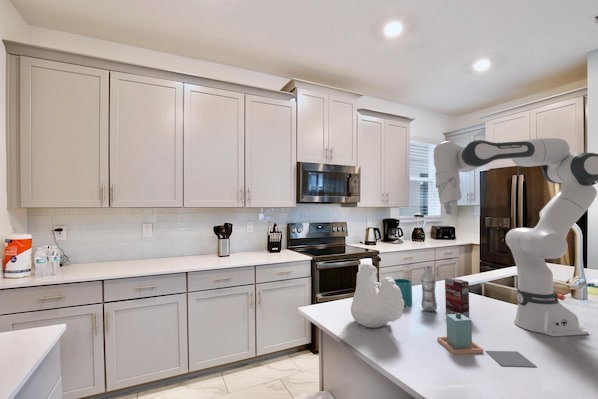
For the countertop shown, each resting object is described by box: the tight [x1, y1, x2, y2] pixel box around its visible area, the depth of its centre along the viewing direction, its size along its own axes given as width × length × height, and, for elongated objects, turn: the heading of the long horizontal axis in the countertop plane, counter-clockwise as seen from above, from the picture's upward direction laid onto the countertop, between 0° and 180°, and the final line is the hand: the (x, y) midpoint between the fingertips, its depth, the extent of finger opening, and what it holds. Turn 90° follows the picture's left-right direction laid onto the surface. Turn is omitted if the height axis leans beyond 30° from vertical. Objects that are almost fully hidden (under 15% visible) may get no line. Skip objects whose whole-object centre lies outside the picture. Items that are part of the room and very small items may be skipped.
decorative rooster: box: [350, 262, 405, 329], centre depth 120 cm, size 25×16×25 cm, turn 17°
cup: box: [393, 278, 413, 307], centre depth 147 cm, size 9×12×11 cm
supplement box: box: [444, 276, 470, 319], centre depth 130 cm, size 9×5×16 cm, turn 23°
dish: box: [436, 336, 484, 356], centre depth 101 cm, size 10×10×3 cm
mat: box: [485, 350, 538, 368], centre depth 93 cm, size 10×9×1 cm
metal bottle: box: [420, 266, 438, 312], centre depth 137 cm, size 6×7×20 cm
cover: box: [445, 313, 473, 350], centre depth 101 cm, size 6×6×11 cm
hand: (451, 213), depth 120 cm, fingers open, 8 cm apart
